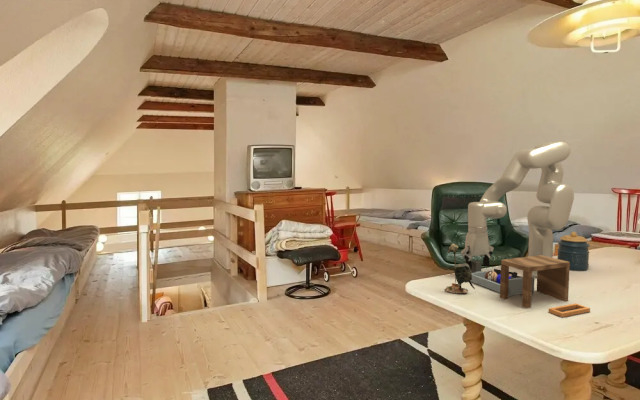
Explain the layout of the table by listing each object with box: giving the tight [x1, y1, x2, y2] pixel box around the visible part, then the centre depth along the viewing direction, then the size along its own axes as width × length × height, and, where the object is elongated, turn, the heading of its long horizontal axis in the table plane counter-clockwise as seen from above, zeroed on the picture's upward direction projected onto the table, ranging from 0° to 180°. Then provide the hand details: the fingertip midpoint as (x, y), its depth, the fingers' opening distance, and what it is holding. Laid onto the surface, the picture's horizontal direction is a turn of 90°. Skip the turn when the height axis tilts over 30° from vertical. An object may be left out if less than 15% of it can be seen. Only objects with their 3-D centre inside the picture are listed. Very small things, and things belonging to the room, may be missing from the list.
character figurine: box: [485, 268, 522, 284], centre depth 156 cm, size 8×7×15 cm
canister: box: [556, 231, 591, 272], centre depth 185 cm, size 13×13×18 cm
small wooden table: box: [499, 255, 570, 309], centre depth 142 cm, size 20×12×15 cm, turn 110°
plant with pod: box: [444, 243, 476, 294], centre depth 151 cm, size 8×11×20 cm
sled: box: [470, 260, 535, 297], centre depth 160 cm, size 13×26×7 cm, turn 20°
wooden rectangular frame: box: [548, 303, 591, 318], centre depth 130 cm, size 13×5×1 cm, turn 110°
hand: (477, 267), depth 171 cm, fingers open, 9 cm apart
